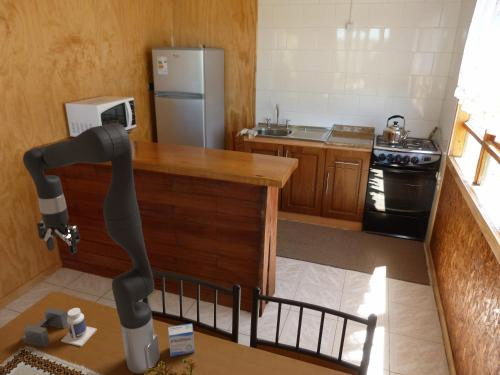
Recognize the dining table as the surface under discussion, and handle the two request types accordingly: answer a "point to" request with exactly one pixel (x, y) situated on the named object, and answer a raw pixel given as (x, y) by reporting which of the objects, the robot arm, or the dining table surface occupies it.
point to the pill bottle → (76, 324)
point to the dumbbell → (39, 332)
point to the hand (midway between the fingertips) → (62, 251)
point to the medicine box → (181, 339)
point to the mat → (79, 341)
